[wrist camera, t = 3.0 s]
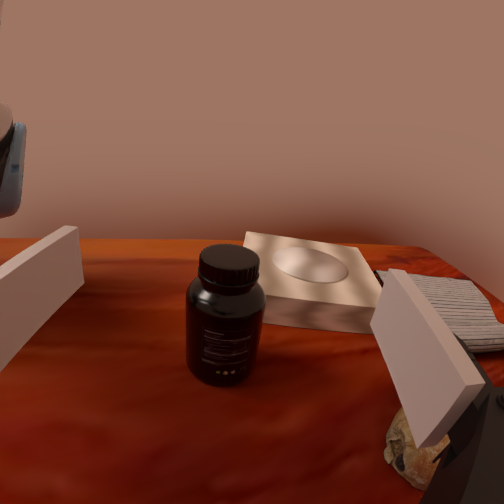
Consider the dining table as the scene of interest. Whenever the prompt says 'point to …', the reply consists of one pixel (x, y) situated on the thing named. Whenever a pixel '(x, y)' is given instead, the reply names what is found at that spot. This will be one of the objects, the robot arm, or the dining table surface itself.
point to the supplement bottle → (224, 315)
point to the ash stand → (315, 284)
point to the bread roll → (411, 453)
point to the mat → (461, 311)
